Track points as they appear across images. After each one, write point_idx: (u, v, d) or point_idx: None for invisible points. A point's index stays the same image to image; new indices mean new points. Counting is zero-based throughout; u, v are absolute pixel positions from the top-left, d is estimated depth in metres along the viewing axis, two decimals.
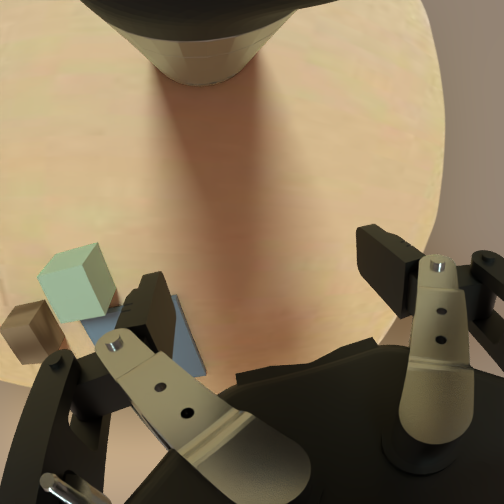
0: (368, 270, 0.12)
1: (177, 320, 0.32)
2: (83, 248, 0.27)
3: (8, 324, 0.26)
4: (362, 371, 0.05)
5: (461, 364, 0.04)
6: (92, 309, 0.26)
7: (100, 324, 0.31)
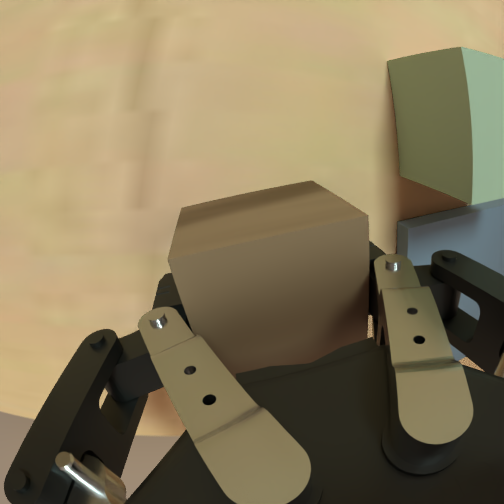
0: None
1: None
2: None
3: (223, 237, 0.08)
4: (362, 371, 0.05)
5: (461, 364, 0.04)
6: None
7: (442, 242, 0.14)
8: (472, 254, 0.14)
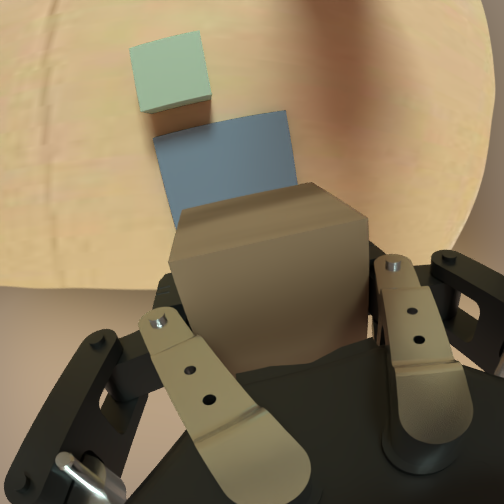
0: None
1: (283, 139, 0.27)
2: None
3: (223, 239, 0.09)
4: (362, 371, 0.05)
5: (461, 364, 0.04)
6: (195, 86, 0.20)
7: (181, 144, 0.25)
8: (214, 152, 0.26)
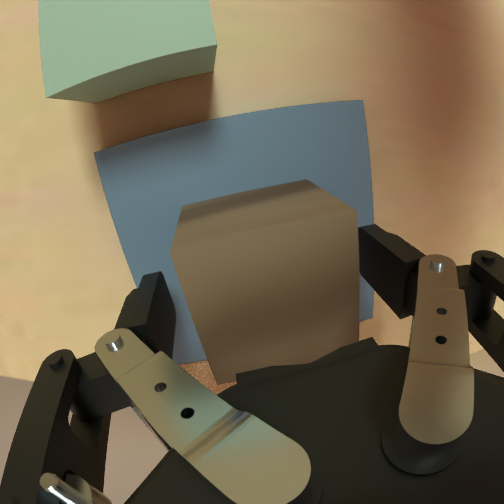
0: (368, 270, 0.12)
1: (357, 156, 0.13)
2: None
3: (221, 231, 0.09)
4: (362, 371, 0.05)
5: (461, 364, 0.04)
6: (176, 25, 0.07)
7: (150, 164, 0.12)
8: (221, 180, 0.13)
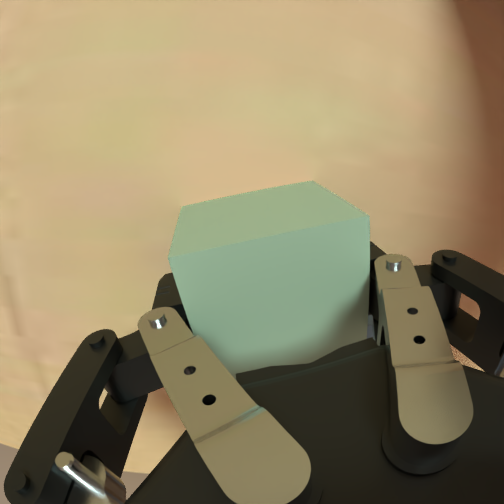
0: None
1: None
2: (286, 191, 0.12)
3: None
4: (362, 371, 0.05)
5: (461, 364, 0.04)
6: None
7: None
8: None
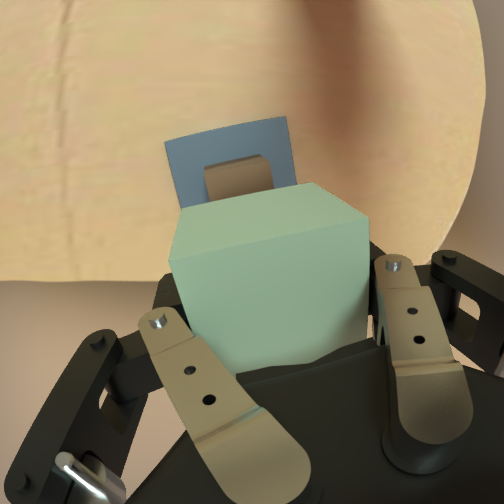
0: None
1: (283, 142, 0.29)
2: (286, 193, 0.12)
3: (221, 169, 0.25)
4: (362, 371, 0.05)
5: (461, 364, 0.04)
6: None
7: (190, 148, 0.28)
8: (221, 155, 0.29)
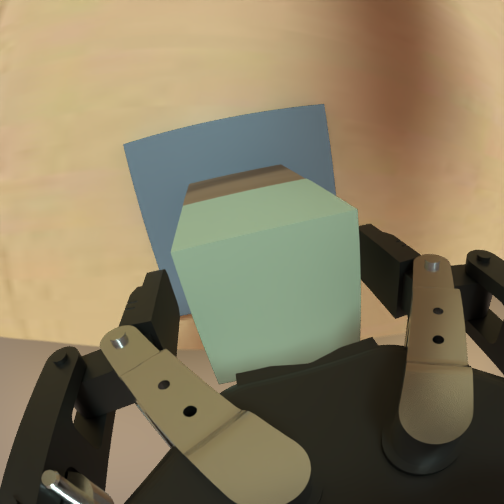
0: (364, 270, 0.12)
1: (320, 146, 0.18)
2: (281, 189, 0.12)
3: (216, 194, 0.14)
4: (362, 371, 0.05)
5: (461, 364, 0.04)
6: (334, 337, 0.11)
7: (165, 153, 0.17)
8: (217, 165, 0.17)
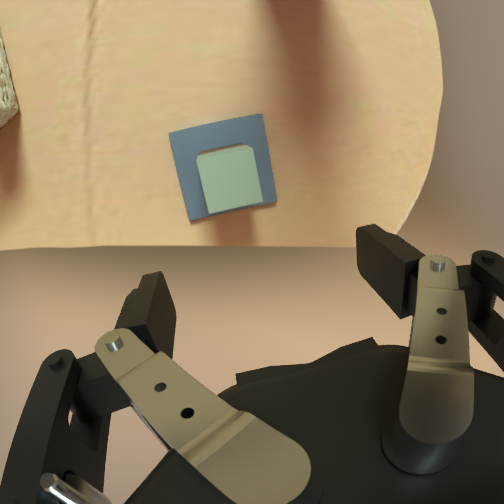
0: (368, 270, 0.12)
1: (260, 133, 0.38)
2: (235, 148, 0.32)
3: None
4: (362, 371, 0.05)
5: (461, 364, 0.04)
6: (251, 195, 0.30)
7: (188, 137, 0.36)
8: (212, 143, 0.37)
